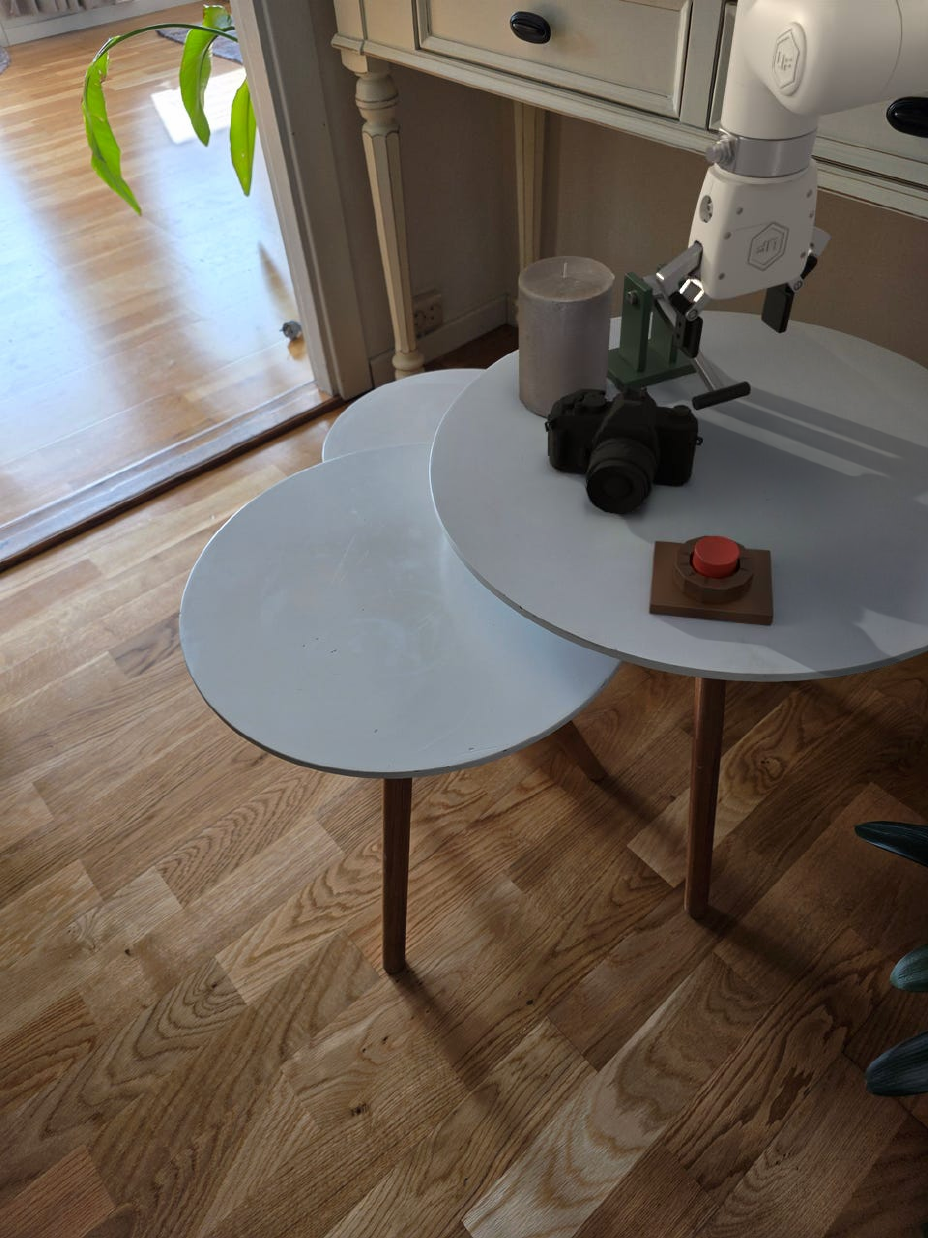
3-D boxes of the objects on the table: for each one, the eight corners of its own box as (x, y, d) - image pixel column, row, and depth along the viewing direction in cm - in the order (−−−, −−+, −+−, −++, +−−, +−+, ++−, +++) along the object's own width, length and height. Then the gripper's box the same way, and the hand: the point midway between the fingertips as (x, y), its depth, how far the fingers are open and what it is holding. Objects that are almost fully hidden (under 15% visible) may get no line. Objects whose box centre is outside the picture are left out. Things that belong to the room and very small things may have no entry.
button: (735, 552, 75) (739, 537, 74) (736, 581, 73) (739, 566, 71) (692, 548, 76) (695, 533, 74) (691, 577, 73) (694, 562, 72)
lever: (746, 401, 89) (754, 385, 87) (695, 416, 88) (702, 400, 86) (669, 285, 96) (675, 268, 94) (620, 298, 95) (625, 281, 92)
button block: (767, 560, 78) (774, 534, 75) (770, 625, 72) (778, 600, 70) (654, 550, 79) (657, 525, 77) (648, 613, 74) (652, 588, 72)
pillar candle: (515, 375, 101) (512, 247, 90) (599, 367, 101) (606, 238, 90) (524, 423, 94) (522, 291, 83) (613, 415, 94) (623, 282, 83)
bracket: (700, 370, 99) (714, 278, 91) (622, 392, 97) (629, 301, 89) (668, 342, 104) (679, 252, 96) (593, 363, 101) (597, 273, 94)
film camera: (530, 505, 85) (529, 428, 78) (552, 447, 91) (553, 371, 84) (688, 528, 81) (701, 449, 75) (700, 466, 87) (713, 388, 81)
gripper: (696, 186, 67) (670, 381, 79) (883, 141, 70) (830, 334, 83) (647, 153, 71) (630, 342, 84) (824, 113, 75) (782, 300, 88)
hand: (729, 338), depth 83 cm, fingers open, 9 cm apart
